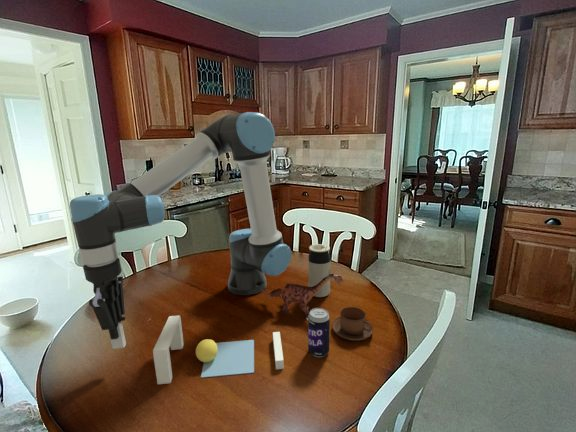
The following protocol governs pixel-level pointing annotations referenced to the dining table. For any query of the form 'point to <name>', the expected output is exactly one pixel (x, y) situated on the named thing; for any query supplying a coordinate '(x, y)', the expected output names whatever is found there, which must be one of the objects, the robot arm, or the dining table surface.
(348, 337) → the cup and saucer
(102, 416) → the dining table surface
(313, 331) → the beverage can
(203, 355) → the ball
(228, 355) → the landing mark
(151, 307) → the dining table surface
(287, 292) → the toy dinosaur
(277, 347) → the stopper
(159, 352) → the bridge
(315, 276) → the travel mug
